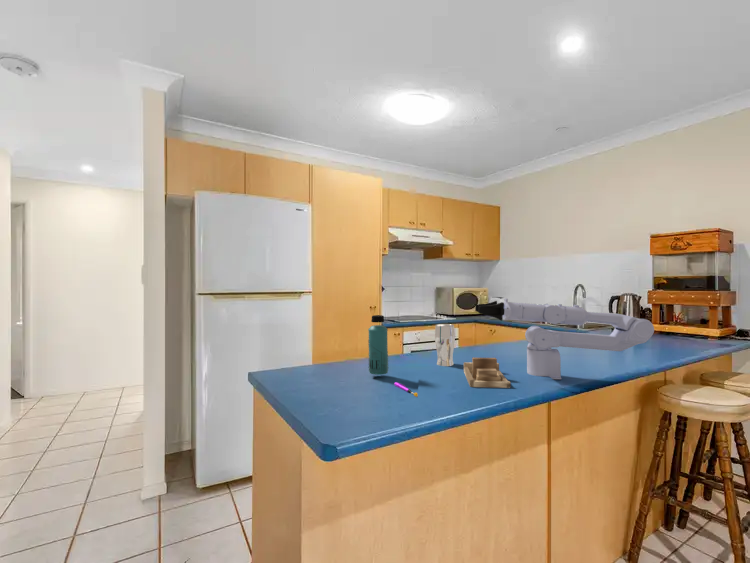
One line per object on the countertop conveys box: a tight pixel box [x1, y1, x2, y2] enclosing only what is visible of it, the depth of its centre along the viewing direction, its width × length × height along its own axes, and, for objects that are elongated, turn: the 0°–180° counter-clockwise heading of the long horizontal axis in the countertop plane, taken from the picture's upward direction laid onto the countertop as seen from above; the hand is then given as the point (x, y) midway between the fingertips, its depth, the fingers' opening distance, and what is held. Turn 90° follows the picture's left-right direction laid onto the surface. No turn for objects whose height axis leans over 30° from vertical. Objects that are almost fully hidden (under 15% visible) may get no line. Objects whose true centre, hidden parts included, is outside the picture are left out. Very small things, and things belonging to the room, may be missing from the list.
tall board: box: [471, 357, 498, 379], centre depth 117 cm, size 7×2×6 cm, turn 82°
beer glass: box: [434, 323, 456, 367], centre depth 137 cm, size 7×7×15 cm
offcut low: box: [476, 375, 501, 381], centre depth 110 cm, size 6×2×2 cm, turn 82°
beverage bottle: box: [367, 314, 389, 376], centre depth 124 cm, size 6×7×20 cm
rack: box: [463, 361, 512, 389], centre depth 116 cm, size 11×18×4 cm, turn 172°
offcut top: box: [477, 369, 497, 377], centre depth 110 cm, size 5×2×2 cm, turn 86°
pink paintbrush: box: [393, 381, 419, 398], centre depth 108 cm, size 3×1×16 cm
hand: (477, 308), depth 125 cm, fingers open, 7 cm apart
